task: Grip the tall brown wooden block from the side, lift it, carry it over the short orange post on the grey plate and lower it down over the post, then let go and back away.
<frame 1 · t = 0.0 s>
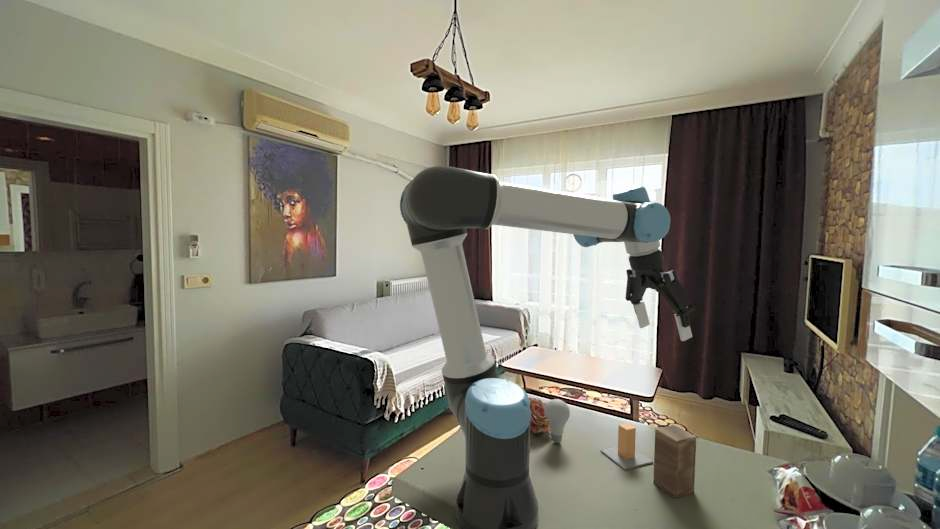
hand: (664, 332, 96), 28 cm above the table, tool tilted 20°, fingers open, 13 cm apart
post: (626, 457, 90), on the table
brown wooden block: (673, 487, 79), on the table
lightbulb: (556, 443, 96), on the table
flower: (537, 432, 102), on the table
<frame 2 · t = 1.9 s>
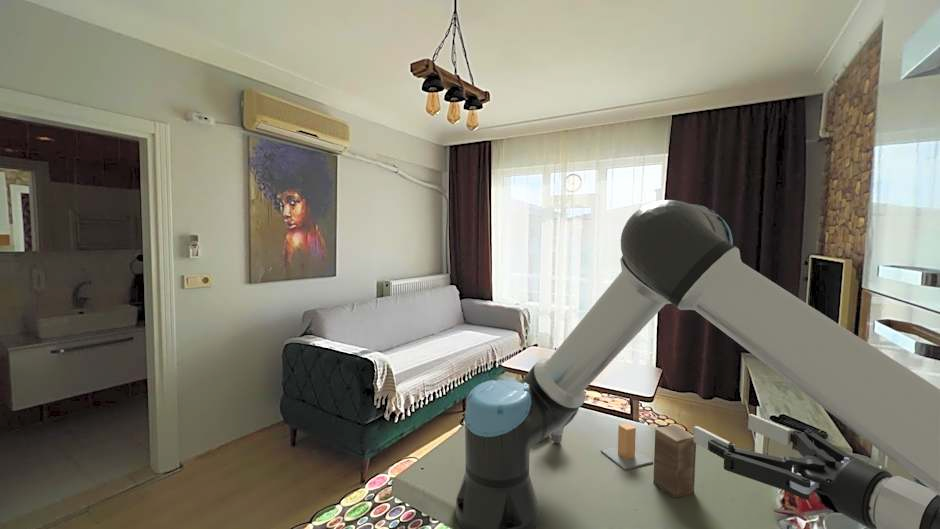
hand: (723, 427, 69), 17 cm above the table, tool horizontal, fingers open, 13 cm apart
nothing on the table moved.
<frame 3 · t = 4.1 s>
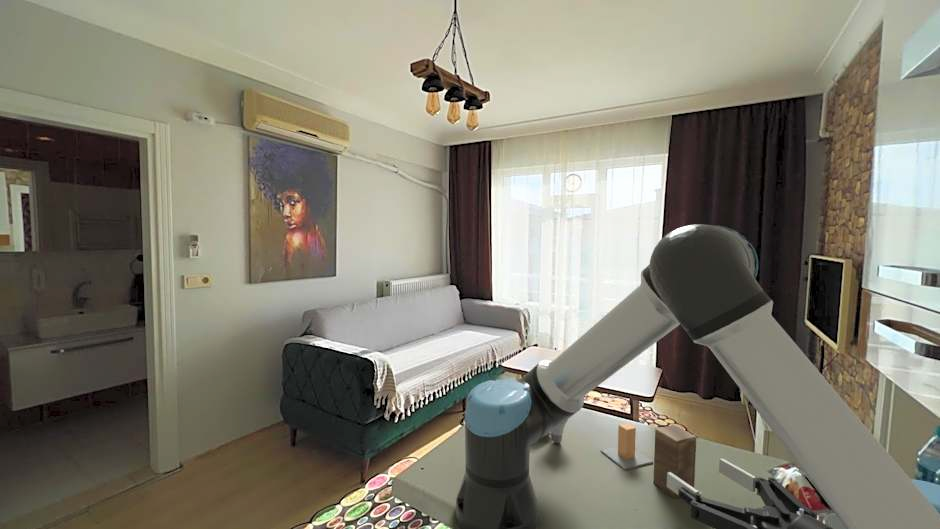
hand: (695, 471, 74), 6 cm above the table, tool horizontal, fingers open, 13 cm apart
nothing on the table moved.
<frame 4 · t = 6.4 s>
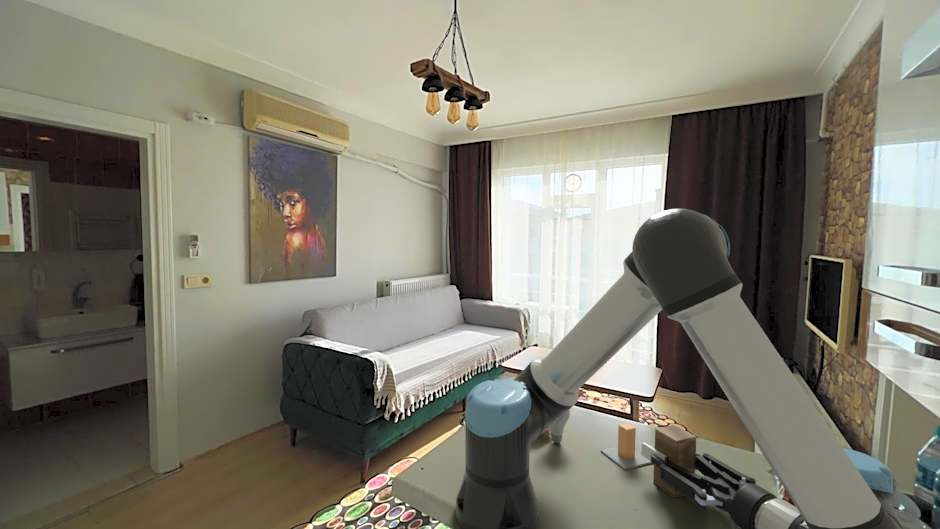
hand: (654, 446, 83), 6 cm above the table, tool horizontal, fingers closed on brown wooden block, 5 cm apart
brown wooden block: (673, 487, 79), on the table, touching gripper
everything else where it was.
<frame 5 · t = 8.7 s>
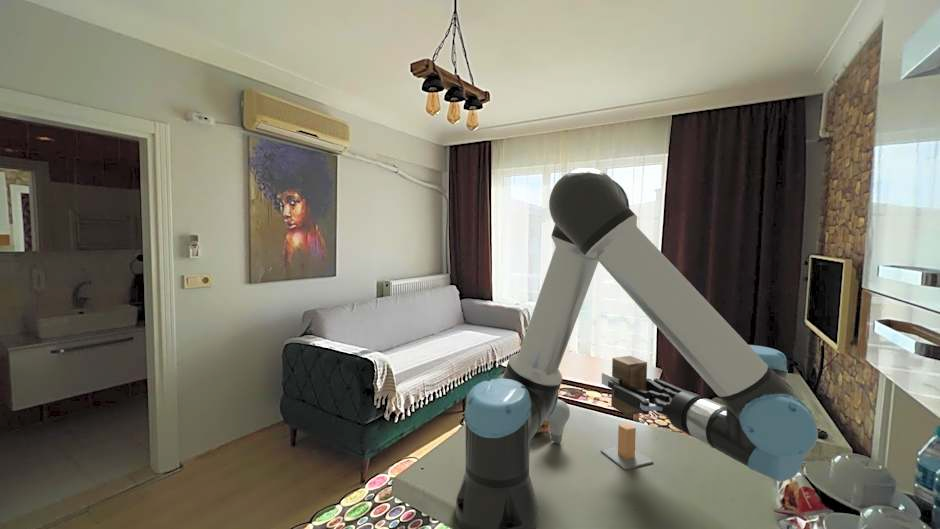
hand: (613, 376, 94), 17 cm above the table, tool horizontal, fingers closed on brown wooden block, 5 cm apart
brown wooden block: (628, 409, 89), point 11 cm above the table, touching gripper
everything else where it was.
when the fingers open (7 cm above the table, at t = 11.1 s): brown wooden block drops 1 cm, resting on post.
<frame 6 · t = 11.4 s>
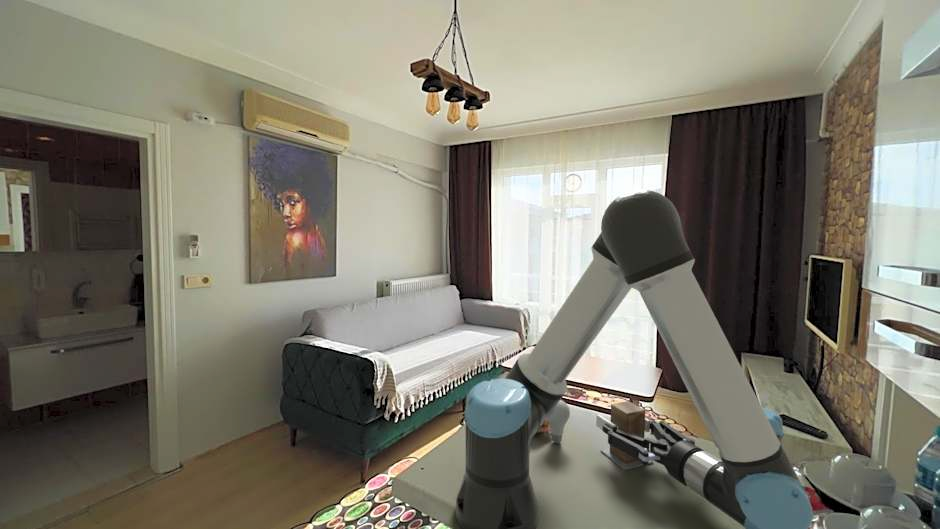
hand: (613, 417, 94), 8 cm above the table, tool horizontal, fingers open, 8 cm apart
brown wooden block: (626, 455, 90), resting on post
everything else where it was.
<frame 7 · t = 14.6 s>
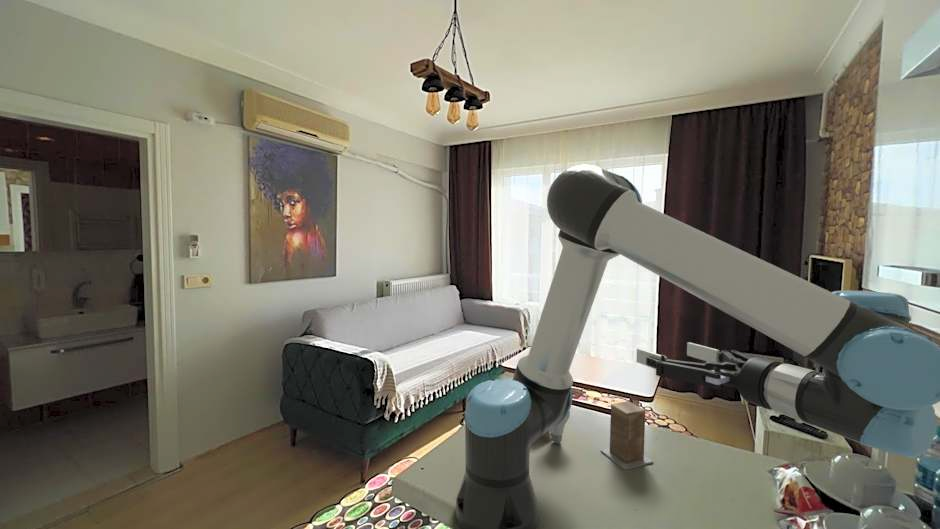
hand: (663, 351, 79), 28 cm above the table, tool horizontal, fingers open, 13 cm apart
nothing on the table moved.
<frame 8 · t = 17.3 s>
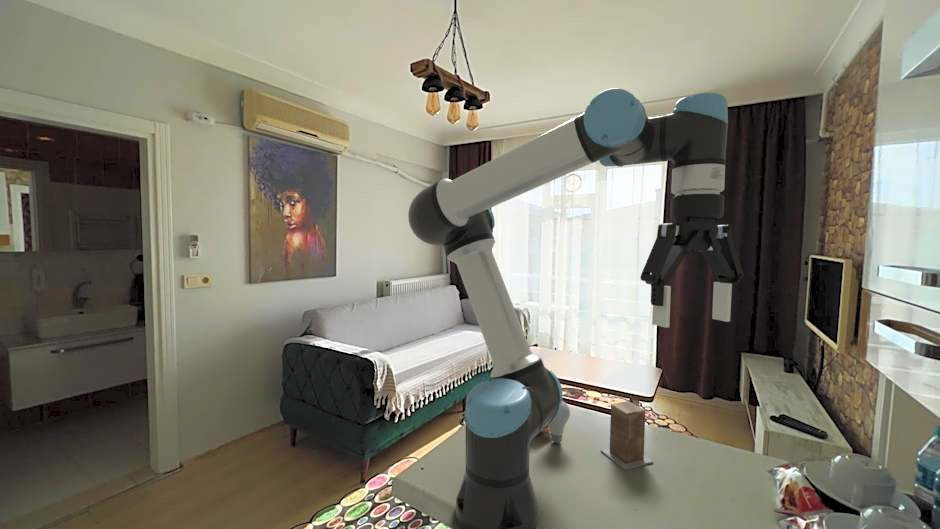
hand: (691, 323, 64), 37 cm above the table, tool pointing down, fingers open, 13 cm apart
nothing on the table moved.
at the end: brown wooden block 0.1 cm from the post (horizontally); brown wooden block resting on post; brown wooden block tilted 0° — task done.
